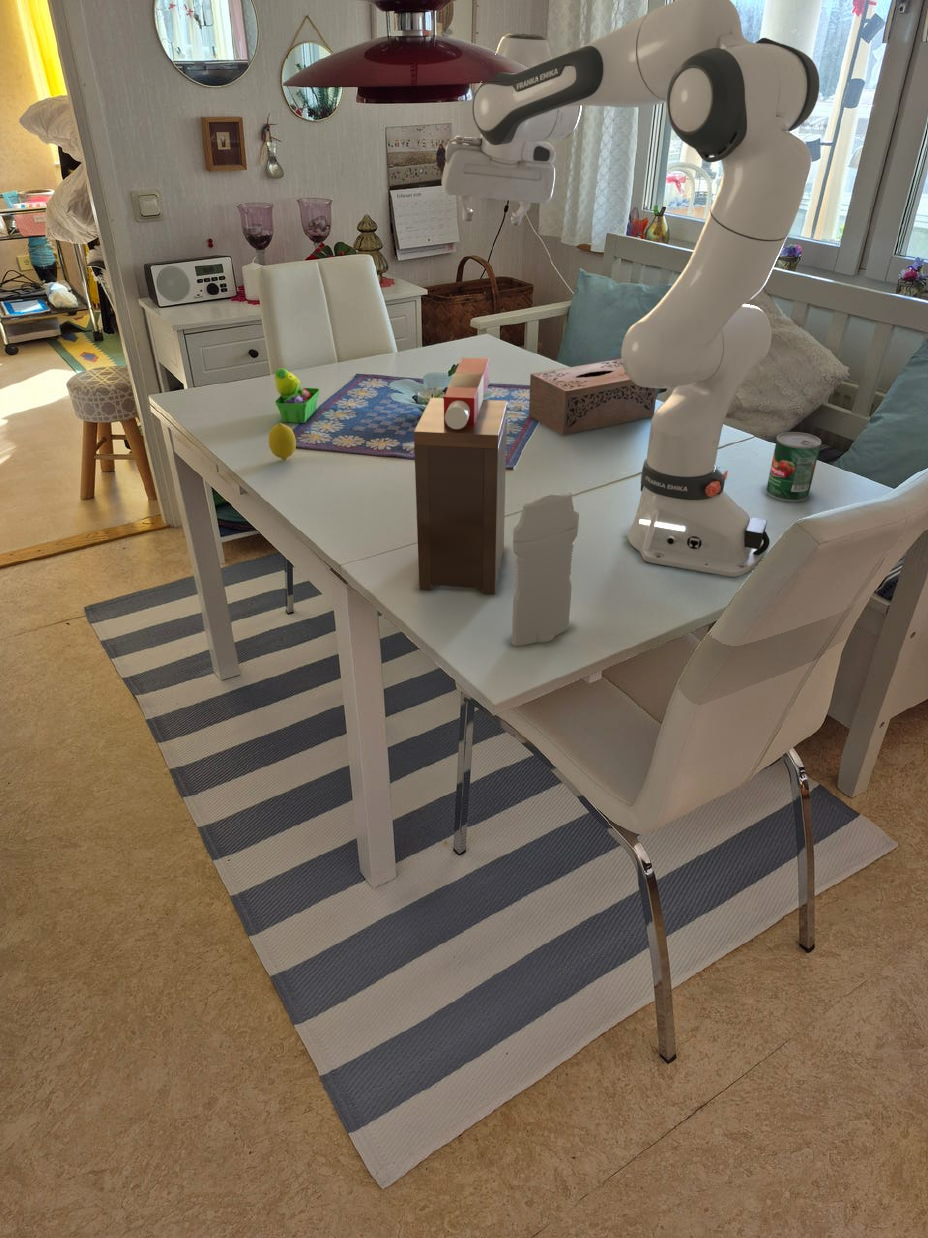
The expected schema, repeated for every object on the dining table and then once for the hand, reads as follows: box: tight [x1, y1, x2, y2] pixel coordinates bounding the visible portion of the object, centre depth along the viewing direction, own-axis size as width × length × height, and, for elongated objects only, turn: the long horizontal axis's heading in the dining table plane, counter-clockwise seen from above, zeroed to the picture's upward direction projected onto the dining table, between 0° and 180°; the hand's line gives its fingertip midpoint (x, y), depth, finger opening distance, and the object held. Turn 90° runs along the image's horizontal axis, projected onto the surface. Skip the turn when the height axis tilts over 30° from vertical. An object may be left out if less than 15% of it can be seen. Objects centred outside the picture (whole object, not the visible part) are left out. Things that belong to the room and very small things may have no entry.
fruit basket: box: [274, 367, 321, 424], centre depth 200 cm, size 11×9×11 cm
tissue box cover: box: [528, 358, 658, 436], centre depth 200 cm, size 26×14×10 cm, turn 118°
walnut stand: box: [413, 397, 508, 595], centre depth 134 cm, size 15×12×26 cm
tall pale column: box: [511, 492, 580, 647], centre depth 118 cm, size 11×4×22 cm, turn 120°
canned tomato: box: [765, 431, 822, 503], centre depth 163 cm, size 8×8×11 cm
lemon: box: [268, 422, 297, 461], centre depth 178 cm, size 6×6×8 cm
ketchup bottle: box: [443, 357, 490, 429], centre depth 129 cm, size 23×4×4 cm, turn 173°
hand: (490, 222), depth 159 cm, fingers open, 8 cm apart
